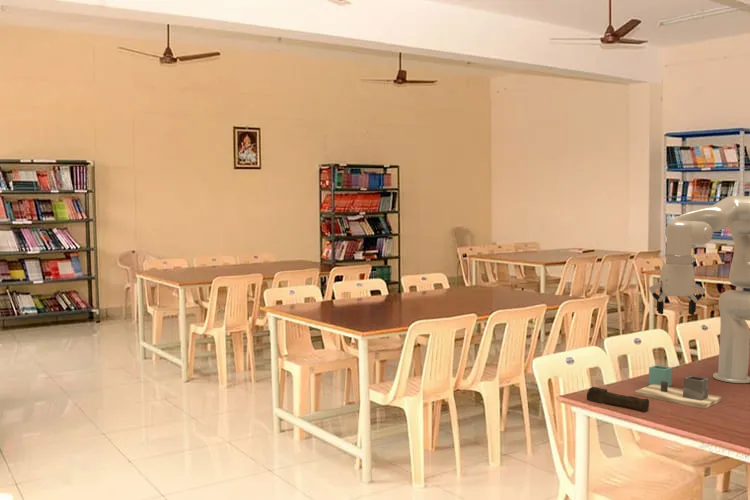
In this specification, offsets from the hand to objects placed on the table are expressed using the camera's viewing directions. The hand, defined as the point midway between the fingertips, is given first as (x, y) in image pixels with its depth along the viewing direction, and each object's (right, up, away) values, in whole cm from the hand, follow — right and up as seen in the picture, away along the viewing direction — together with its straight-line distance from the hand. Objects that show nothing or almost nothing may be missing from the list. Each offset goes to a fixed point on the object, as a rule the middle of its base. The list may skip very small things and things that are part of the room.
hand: (675, 313), depth 240 cm
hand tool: (-23, -27, -12) cm, 38 cm away
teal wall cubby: (+1, -26, +15) cm, 30 cm away
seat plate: (0, -27, -1) cm, 27 cm away
